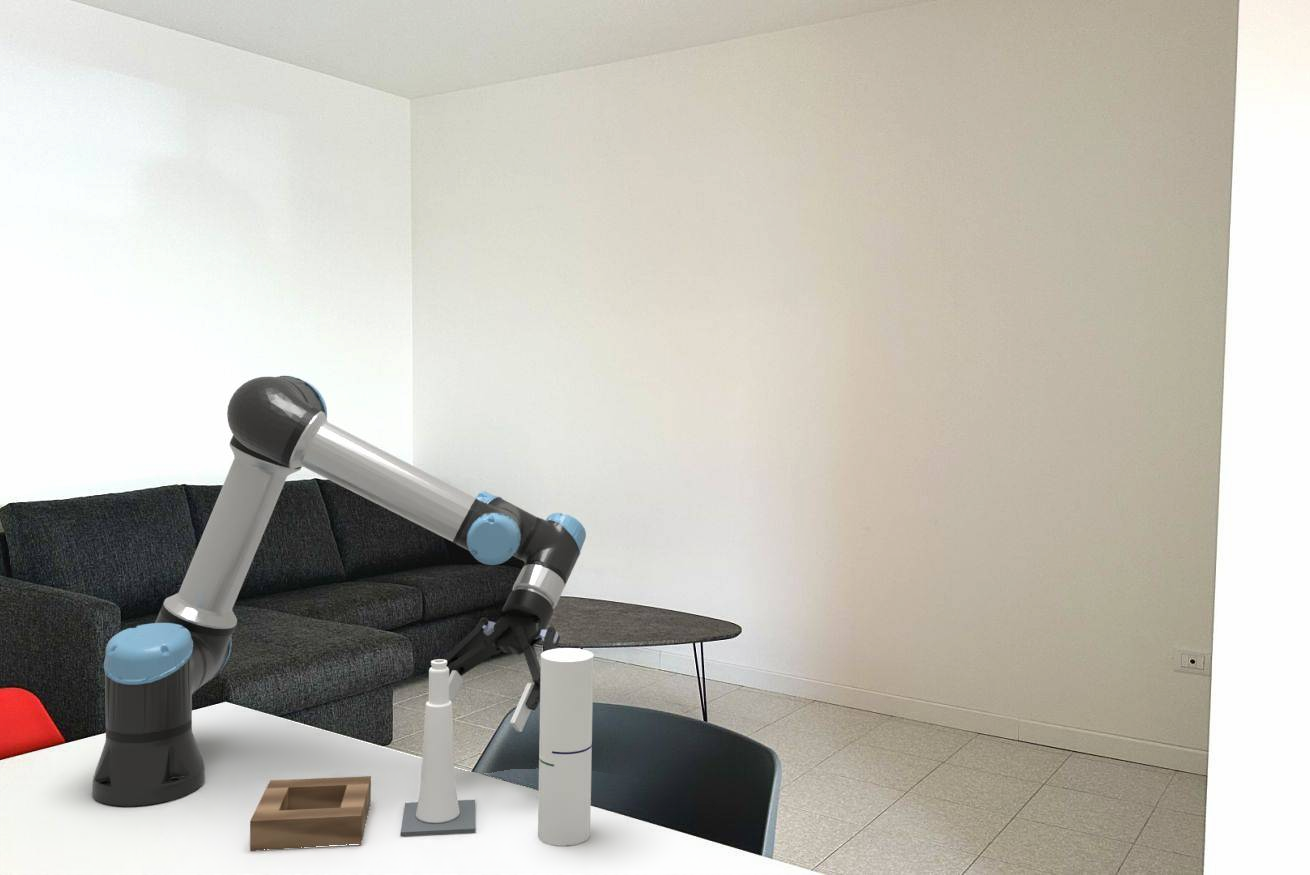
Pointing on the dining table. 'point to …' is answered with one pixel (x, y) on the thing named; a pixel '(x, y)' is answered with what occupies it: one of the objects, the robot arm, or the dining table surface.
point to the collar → (311, 813)
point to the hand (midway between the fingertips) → (476, 720)
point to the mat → (455, 826)
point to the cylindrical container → (565, 746)
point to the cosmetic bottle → (438, 752)
